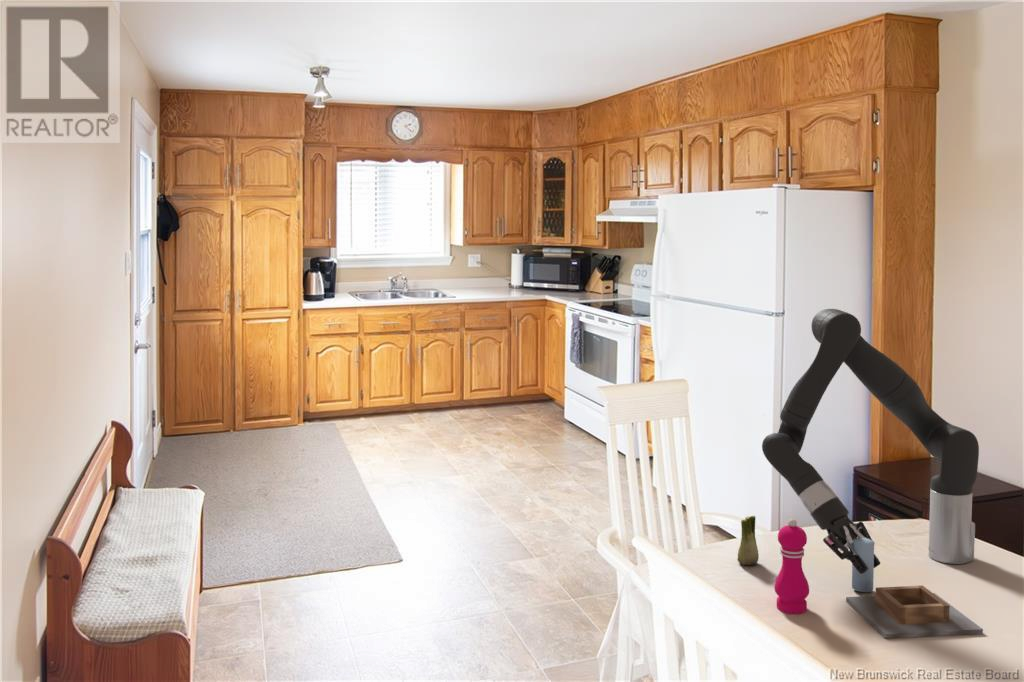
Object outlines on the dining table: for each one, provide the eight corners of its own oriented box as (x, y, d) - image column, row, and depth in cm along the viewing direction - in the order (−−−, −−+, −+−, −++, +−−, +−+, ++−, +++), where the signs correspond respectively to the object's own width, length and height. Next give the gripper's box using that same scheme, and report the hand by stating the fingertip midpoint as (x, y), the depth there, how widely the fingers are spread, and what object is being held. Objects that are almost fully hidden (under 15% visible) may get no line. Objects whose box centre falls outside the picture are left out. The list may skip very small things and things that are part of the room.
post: (867, 583, 195) (868, 537, 194) (876, 591, 191) (877, 544, 189) (848, 584, 195) (849, 538, 194) (857, 592, 190) (858, 545, 189)
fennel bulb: (752, 559, 214) (752, 512, 213) (764, 565, 209) (764, 518, 208) (732, 562, 212) (732, 515, 211) (744, 569, 208) (744, 521, 206)
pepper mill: (811, 616, 181) (812, 525, 179) (776, 614, 182) (776, 523, 180) (806, 602, 188) (807, 514, 186) (772, 600, 189) (773, 513, 187)
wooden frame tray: (934, 597, 188) (934, 577, 188) (982, 633, 171) (983, 612, 170) (846, 601, 188) (846, 581, 187) (885, 638, 170) (885, 617, 169)
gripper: (815, 502, 192) (865, 569, 184) (850, 490, 201) (899, 552, 193) (795, 519, 197) (842, 585, 189) (830, 506, 206) (876, 568, 197)
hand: (870, 568), depth 191 cm, fingers closed on post, 4 cm apart
